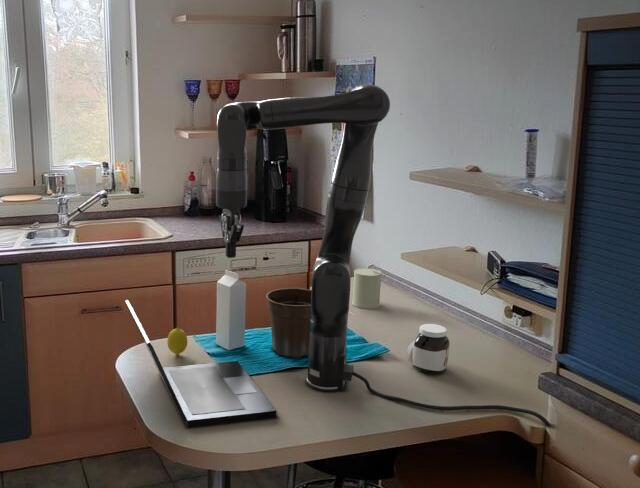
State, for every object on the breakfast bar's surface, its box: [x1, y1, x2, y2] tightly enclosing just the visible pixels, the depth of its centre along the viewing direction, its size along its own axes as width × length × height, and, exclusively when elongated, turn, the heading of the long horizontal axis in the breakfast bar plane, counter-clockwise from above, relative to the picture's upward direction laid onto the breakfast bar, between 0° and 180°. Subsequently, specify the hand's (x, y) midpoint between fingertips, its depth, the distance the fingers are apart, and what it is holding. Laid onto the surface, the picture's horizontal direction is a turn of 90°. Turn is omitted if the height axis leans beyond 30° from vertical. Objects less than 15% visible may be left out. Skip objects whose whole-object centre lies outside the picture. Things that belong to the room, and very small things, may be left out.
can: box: [351, 267, 383, 310], centre depth 249 cm, size 9×9×12 cm
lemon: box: [166, 327, 188, 356], centre depth 204 cm, size 6×6×8 cm
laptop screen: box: [124, 299, 187, 423], centre depth 174 cm, size 21×30×1 cm
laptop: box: [163, 360, 278, 429], centre depth 180 cm, size 21×30×2 cm
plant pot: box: [265, 287, 311, 358], centre depth 208 cm, size 16×16×16 cm
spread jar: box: [406, 323, 451, 375], centre depth 198 cm, size 12×11×12 cm
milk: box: [215, 269, 247, 351], centre depth 210 cm, size 6×6×22 cm
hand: (230, 256), depth 181 cm, fingers closed
